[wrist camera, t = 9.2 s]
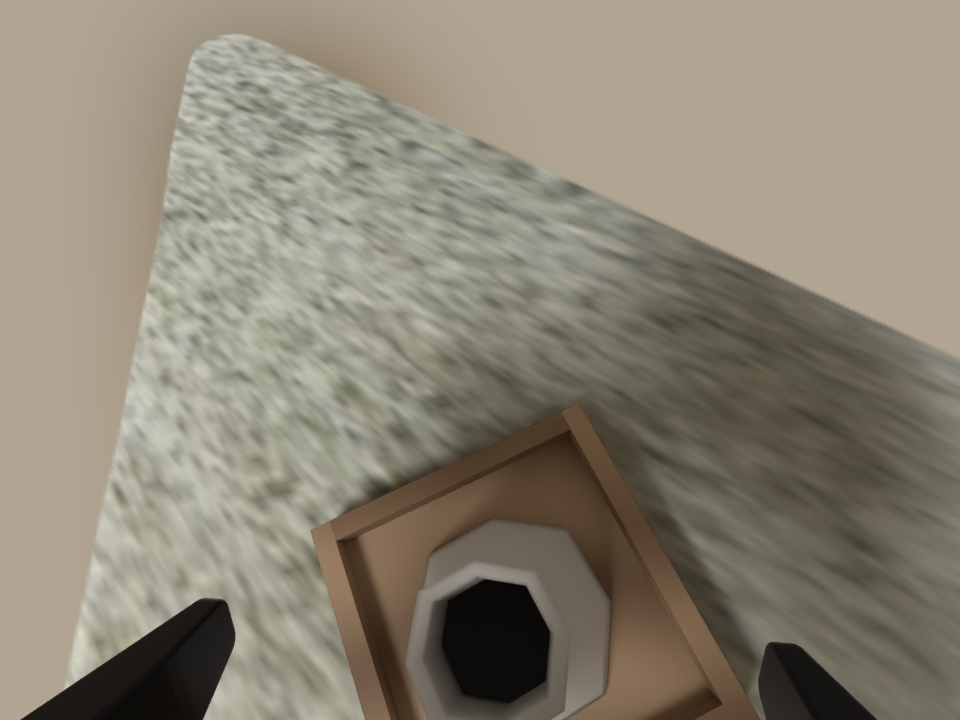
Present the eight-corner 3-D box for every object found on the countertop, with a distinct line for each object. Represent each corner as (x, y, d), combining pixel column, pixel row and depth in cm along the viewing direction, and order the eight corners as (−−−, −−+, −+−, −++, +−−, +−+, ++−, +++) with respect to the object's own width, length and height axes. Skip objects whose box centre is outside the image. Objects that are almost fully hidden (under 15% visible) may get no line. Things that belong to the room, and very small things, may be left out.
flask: (427, 758, 17) (305, 942, 8) (404, 535, 20) (296, 492, 11) (639, 719, 17) (752, 864, 8) (584, 500, 20) (622, 428, 11)
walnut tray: (740, 708, 18) (760, 720, 16) (431, 875, 17) (419, 906, 15) (576, 416, 22) (579, 403, 21) (327, 534, 22) (310, 530, 20)
